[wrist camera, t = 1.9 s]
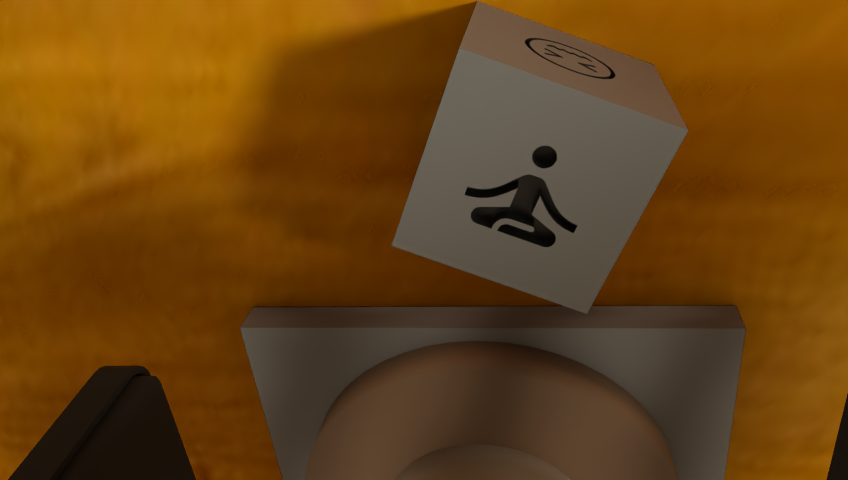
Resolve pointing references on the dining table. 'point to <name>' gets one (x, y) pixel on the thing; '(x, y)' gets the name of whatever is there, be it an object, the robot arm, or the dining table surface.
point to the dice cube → (539, 159)
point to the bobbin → (497, 391)
